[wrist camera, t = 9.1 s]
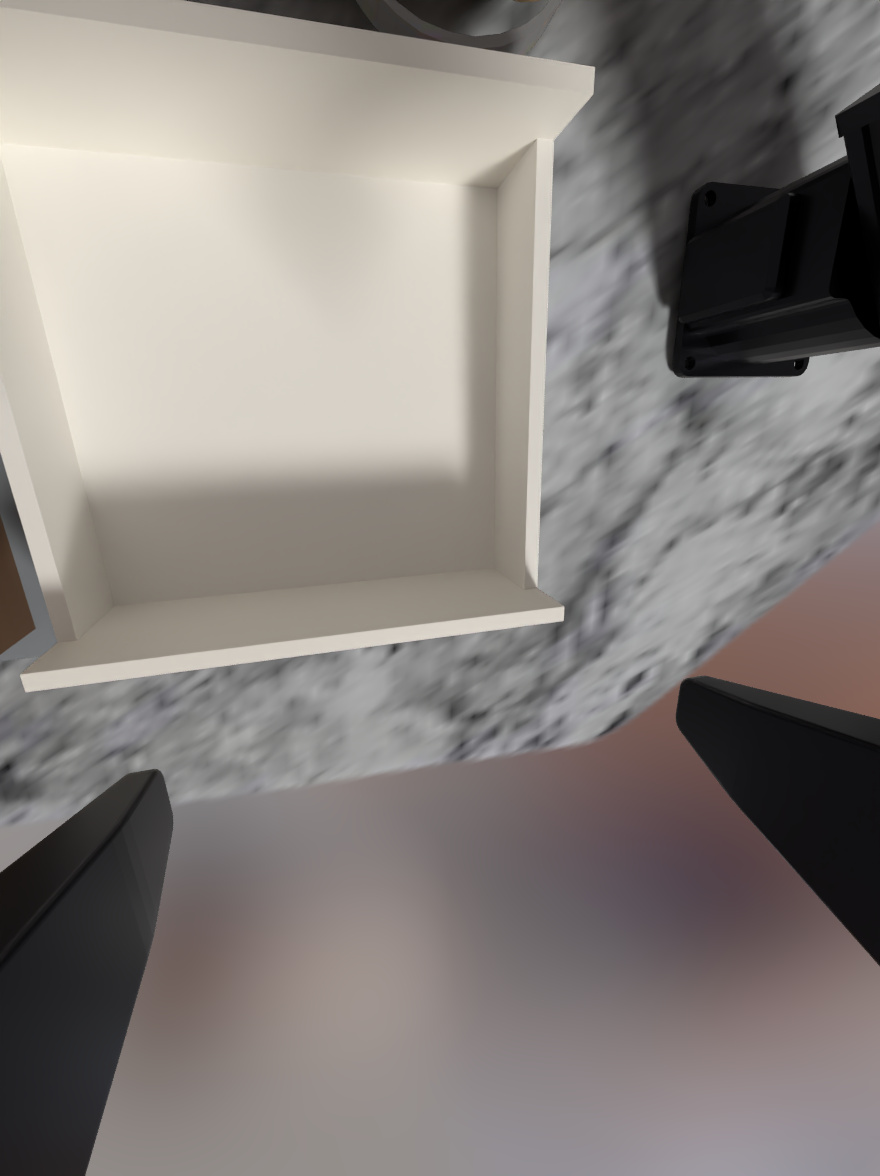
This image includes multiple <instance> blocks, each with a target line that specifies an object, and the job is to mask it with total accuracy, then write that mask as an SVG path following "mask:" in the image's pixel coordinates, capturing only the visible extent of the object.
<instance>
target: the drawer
mask: <svg viewBox="0 0 880 1176" xmlns="http://www.w3.org/2000/svg"><path fill="white" fill-rule="evenodd" d="M594 76H595V67H592V66H586V65H579V64H573V63H567V62H561V61H555V60H549V59H542V58H536V57H530V56H524V55H518V54H512V53H505V52H499V51H493V50H487V49H481V48H474V47H468V46H462V45H456V44H450V43H444V42H437V41H431V40H425V39H419V38H413V37H407V36H400V35H394V34H388V33H382V32H376V31H369V30H363V29H357V28H351V27H345V26H339V25H332V24H326V23H320V22H314V21H308V20H301V19H295V18H289V17H283V16H277V15H271V14H264V13H258V12H252V11H246V10H240V9H234V8H227V7H221V6H215V5H209V4H203V3H196V2H190V1H184V0H0V453H1V456H2V460H3V463H4V466H5V470H6V473H7V476H8V480H9V483H10V486H11V490H12V493H13V496H14V500H15V503H16V506H17V510H18V513H19V516H20V520H21V523H22V526H23V530H24V533H25V536H26V540H27V543H28V546H29V550H30V553H31V556H32V560H33V563H34V566H35V570H36V573H37V576H38V580H39V583H40V586H41V590H42V593H43V596H44V600H45V603H46V606H47V610H48V613H49V616H50V620H51V623H52V626H53V630H54V633H55V636H56V640H57V643H56V644H55V645H54V646H53V647H52V648H50V649H49V650H48V651H47V652H46V653H45V654H43V655H42V656H41V657H40V658H39V659H38V660H36V661H35V662H34V663H33V664H32V665H31V666H29V667H28V668H27V669H26V670H25V671H23V672H22V673H21V674H20V677H21V680H22V683H23V686H24V689H25V692H32V691H39V690H47V689H54V688H62V687H69V686H77V685H84V684H92V683H99V682H107V681H114V680H122V679H130V678H137V677H145V676H152V675H160V674H167V673H175V672H182V671H190V670H197V669H205V668H212V667H220V666H227V665H235V664H243V663H250V662H258V661H265V660H273V659H280V658H288V657H295V656H303V655H310V654H318V653H325V652H333V651H341V650H348V649H356V648H363V647H371V646H378V645H386V644H393V643H401V642H408V641H416V640H423V639H431V638H438V637H446V636H454V635H461V634H469V633H476V632H484V631H491V630H499V629H506V628H514V627H521V626H529V625H536V624H544V623H552V622H559V621H564V606H563V605H561V604H560V603H558V602H557V601H556V600H554V599H553V598H551V597H550V596H548V595H547V594H545V593H544V592H542V591H541V590H539V589H538V588H537V578H538V552H539V525H540V499H541V472H542V446H543V419H544V392H545V366H546V339H547V313H548V286H549V259H550V233H551V206H552V180H553V153H554V140H555V138H556V137H557V136H558V135H559V134H560V133H561V131H562V130H563V129H564V128H565V127H566V126H567V124H568V123H569V122H570V121H571V120H572V119H573V117H574V116H575V115H576V114H577V113H578V112H579V110H580V109H581V108H582V107H583V106H584V105H585V103H586V102H587V101H588V100H589V99H590V98H591V96H592V95H593V94H594Z"/></svg>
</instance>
